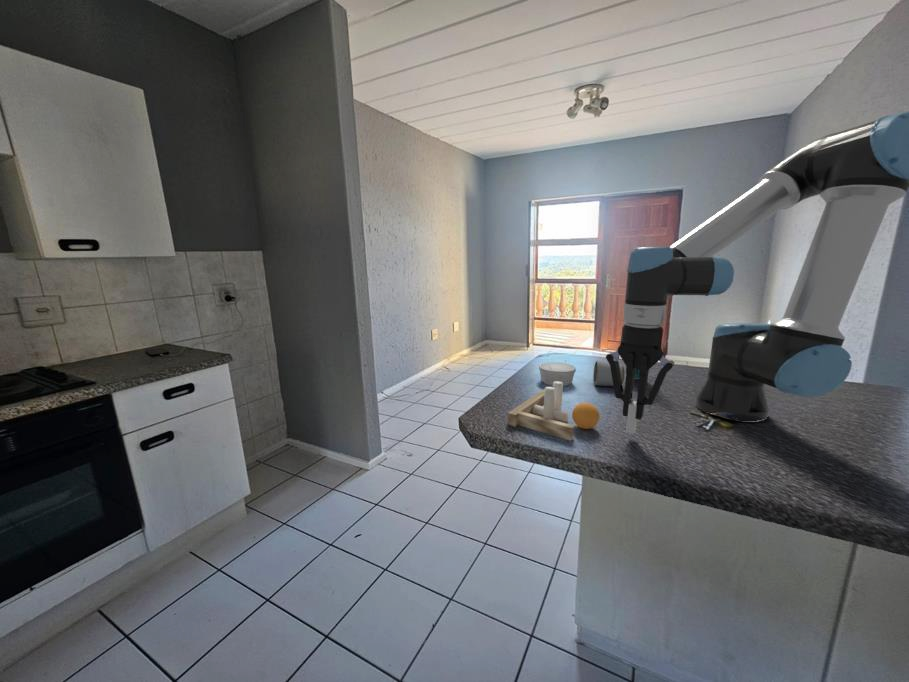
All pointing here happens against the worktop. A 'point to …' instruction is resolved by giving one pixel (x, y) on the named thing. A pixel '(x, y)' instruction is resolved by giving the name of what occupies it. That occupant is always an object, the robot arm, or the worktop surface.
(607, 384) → the ceramic mug
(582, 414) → the ball
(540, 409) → the front pin
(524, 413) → the triangular peg stand
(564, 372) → the ramekin
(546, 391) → the pin
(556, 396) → the pin
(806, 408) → the worktop surface
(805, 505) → the worktop surface
